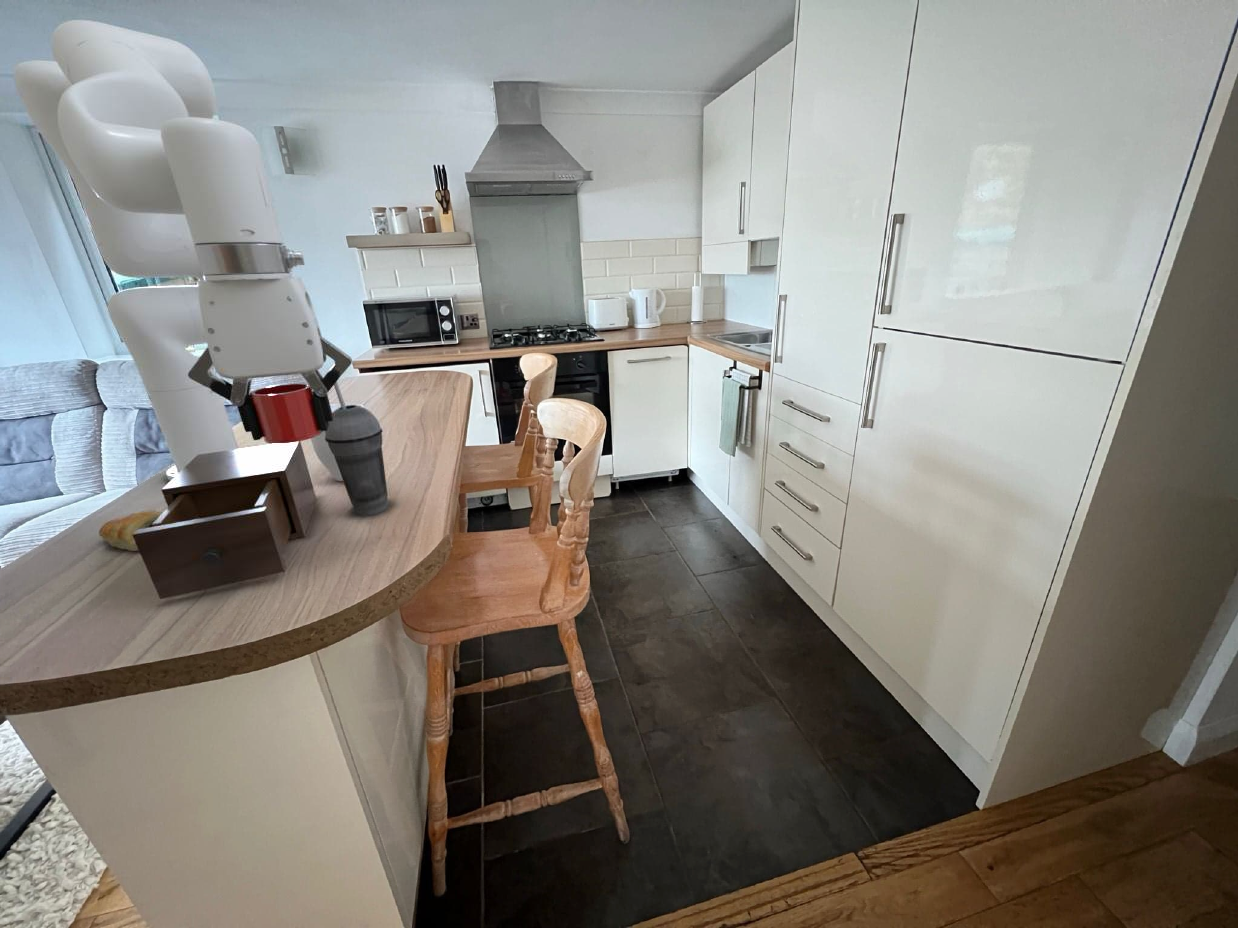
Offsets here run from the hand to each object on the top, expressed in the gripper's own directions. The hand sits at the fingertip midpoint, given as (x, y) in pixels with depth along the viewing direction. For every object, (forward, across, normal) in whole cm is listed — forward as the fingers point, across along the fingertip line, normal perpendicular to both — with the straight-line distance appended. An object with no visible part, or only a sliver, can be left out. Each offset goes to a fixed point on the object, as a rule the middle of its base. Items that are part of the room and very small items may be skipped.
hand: (292, 430), depth 58 cm
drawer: (+15, +9, 0) cm, 17 cm away
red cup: (+1, 0, 0) cm, 1 cm away
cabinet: (+16, +9, -12) cm, 22 cm away
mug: (+16, -2, -28) cm, 32 cm away
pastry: (+16, +23, -15) cm, 32 cm away
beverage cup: (+16, -5, -10) cm, 20 cm away
